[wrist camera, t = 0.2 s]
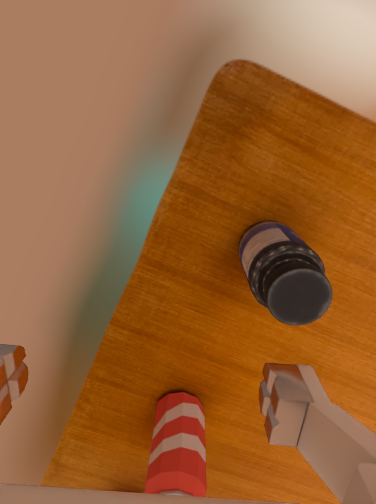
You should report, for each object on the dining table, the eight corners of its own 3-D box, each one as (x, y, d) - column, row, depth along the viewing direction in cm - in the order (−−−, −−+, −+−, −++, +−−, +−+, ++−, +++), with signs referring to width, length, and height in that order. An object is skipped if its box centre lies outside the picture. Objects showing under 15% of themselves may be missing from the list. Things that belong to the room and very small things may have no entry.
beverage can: (213, 406, 40) (220, 511, 29) (179, 430, 42) (173, 538, 30) (180, 380, 38) (174, 479, 27) (146, 406, 40) (128, 510, 29)
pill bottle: (303, 259, 32) (354, 316, 22) (250, 282, 33) (275, 346, 23) (283, 208, 30) (328, 244, 20) (228, 234, 32) (243, 280, 21)
